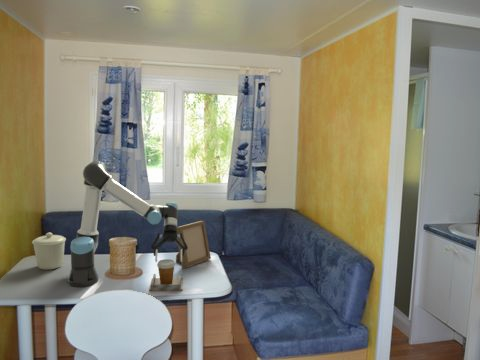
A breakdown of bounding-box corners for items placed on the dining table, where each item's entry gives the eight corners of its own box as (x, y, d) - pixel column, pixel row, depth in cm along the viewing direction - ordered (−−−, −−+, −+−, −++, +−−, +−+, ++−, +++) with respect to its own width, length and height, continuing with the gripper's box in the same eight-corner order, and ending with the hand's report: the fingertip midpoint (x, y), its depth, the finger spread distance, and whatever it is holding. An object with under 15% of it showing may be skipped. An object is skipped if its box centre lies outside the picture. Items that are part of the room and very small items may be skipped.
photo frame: (210, 260, 254) (210, 222, 250) (186, 269, 236) (186, 228, 233) (194, 255, 262) (194, 218, 259) (169, 263, 245) (169, 224, 242)
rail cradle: (148, 291, 203) (148, 285, 203) (151, 279, 219) (151, 274, 219) (182, 290, 206) (182, 284, 205) (182, 278, 221) (182, 273, 221)
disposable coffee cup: (167, 278, 219) (167, 257, 217) (178, 283, 213) (178, 261, 212) (153, 283, 212) (153, 262, 210) (165, 288, 206) (165, 266, 204)
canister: (54, 273, 224) (52, 237, 222) (26, 270, 228) (24, 235, 225) (73, 263, 242) (72, 229, 239) (46, 260, 245) (45, 227, 242)
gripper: (192, 230, 232) (191, 263, 220) (148, 230, 229) (145, 264, 217) (192, 223, 226) (191, 257, 214) (147, 223, 223) (144, 258, 211)
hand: (168, 260), depth 215 cm, fingers open, 13 cm apart
